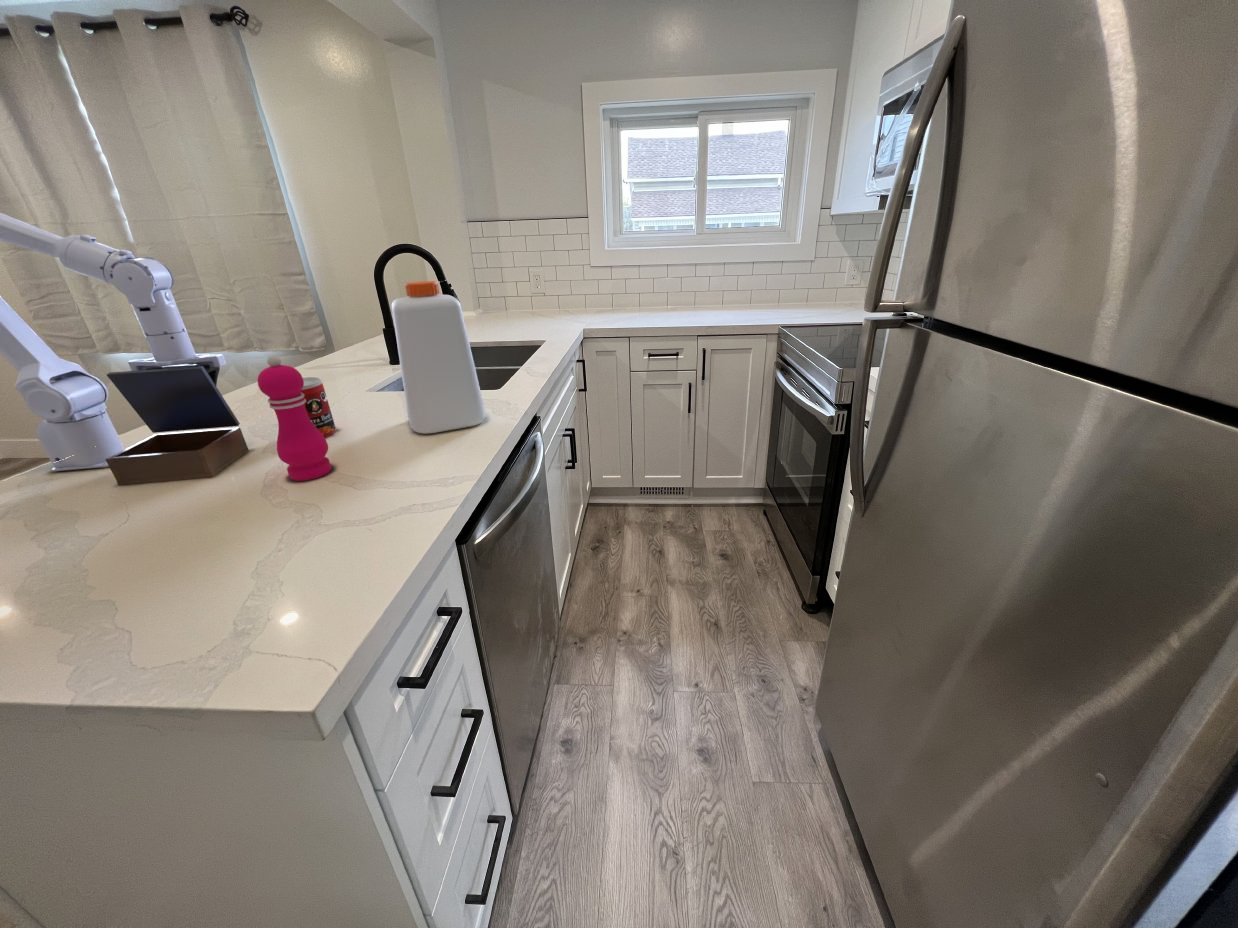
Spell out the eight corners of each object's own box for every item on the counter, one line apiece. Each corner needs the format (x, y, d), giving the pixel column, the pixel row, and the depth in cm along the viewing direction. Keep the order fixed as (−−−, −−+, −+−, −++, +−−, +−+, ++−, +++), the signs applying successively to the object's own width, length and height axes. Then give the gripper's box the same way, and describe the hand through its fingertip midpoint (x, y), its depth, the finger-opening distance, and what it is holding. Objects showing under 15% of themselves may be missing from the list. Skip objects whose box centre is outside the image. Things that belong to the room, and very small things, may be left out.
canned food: (304, 444, 97) (286, 390, 92) (287, 436, 101) (269, 384, 97) (344, 432, 102) (328, 380, 98) (326, 425, 107) (310, 375, 102)
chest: (212, 476, 85) (201, 451, 83) (118, 485, 83) (105, 459, 81) (249, 450, 95) (240, 427, 93) (165, 457, 93) (154, 433, 91)
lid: (201, 368, 84) (213, 354, 88) (105, 374, 83) (122, 360, 86) (238, 426, 93) (248, 411, 96) (152, 433, 91) (165, 417, 94)
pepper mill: (313, 483, 81) (272, 361, 72) (276, 481, 82) (231, 361, 74) (344, 465, 87) (310, 350, 79) (309, 463, 88) (271, 350, 80)
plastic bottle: (408, 416, 110) (377, 282, 98) (477, 405, 115) (456, 277, 104) (413, 438, 97) (379, 288, 86) (490, 425, 103) (468, 282, 91)
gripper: (101, 339, 82) (137, 417, 88) (196, 334, 84) (225, 410, 90) (133, 332, 89) (165, 405, 94) (220, 327, 90) (246, 399, 96)
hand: (196, 407), depth 92 cm, fingers closed on lid, 5 cm apart
